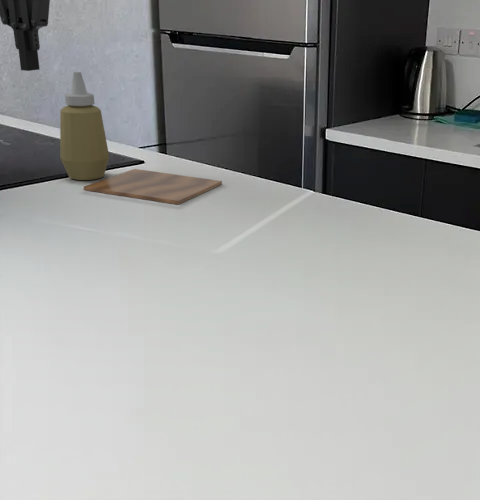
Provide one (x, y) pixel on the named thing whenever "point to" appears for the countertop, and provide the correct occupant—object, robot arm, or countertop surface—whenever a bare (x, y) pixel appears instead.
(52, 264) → the countertop surface
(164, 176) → the wooden board
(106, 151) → the squeeze bottle
